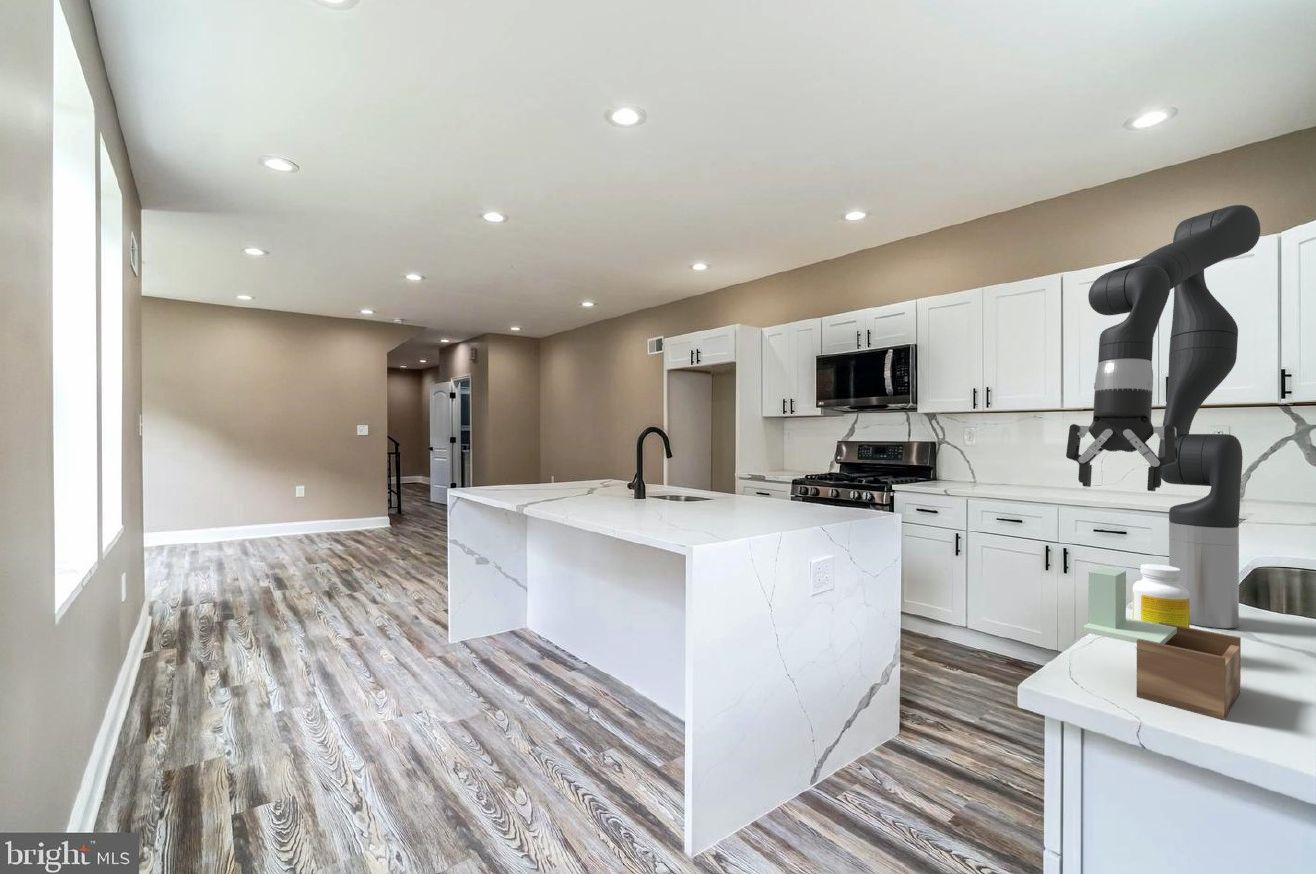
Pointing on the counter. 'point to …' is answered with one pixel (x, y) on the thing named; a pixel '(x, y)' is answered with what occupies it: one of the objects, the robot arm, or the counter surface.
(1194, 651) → the walnut box
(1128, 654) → the counter surface
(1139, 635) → the sage lid
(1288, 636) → the counter surface
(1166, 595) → the supplement bottle
